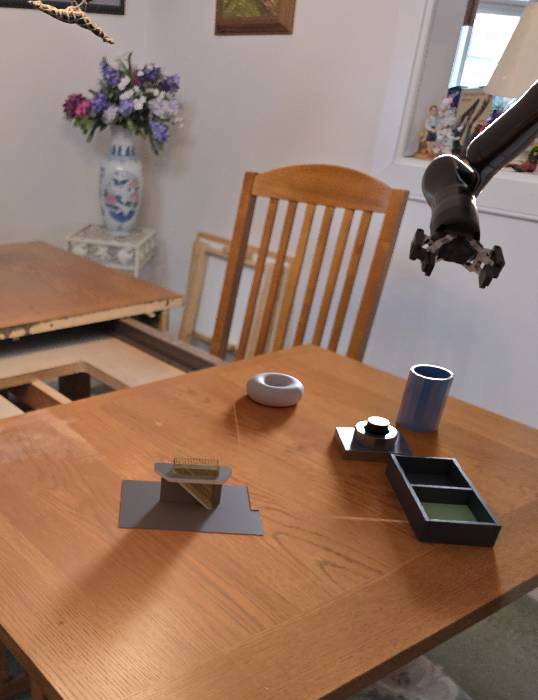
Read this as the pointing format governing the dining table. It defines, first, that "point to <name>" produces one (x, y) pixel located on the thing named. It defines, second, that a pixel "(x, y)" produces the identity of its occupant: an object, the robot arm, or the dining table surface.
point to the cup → (424, 398)
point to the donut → (275, 389)
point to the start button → (377, 426)
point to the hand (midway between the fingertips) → (457, 277)
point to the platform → (189, 500)
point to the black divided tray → (441, 501)
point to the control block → (369, 444)
